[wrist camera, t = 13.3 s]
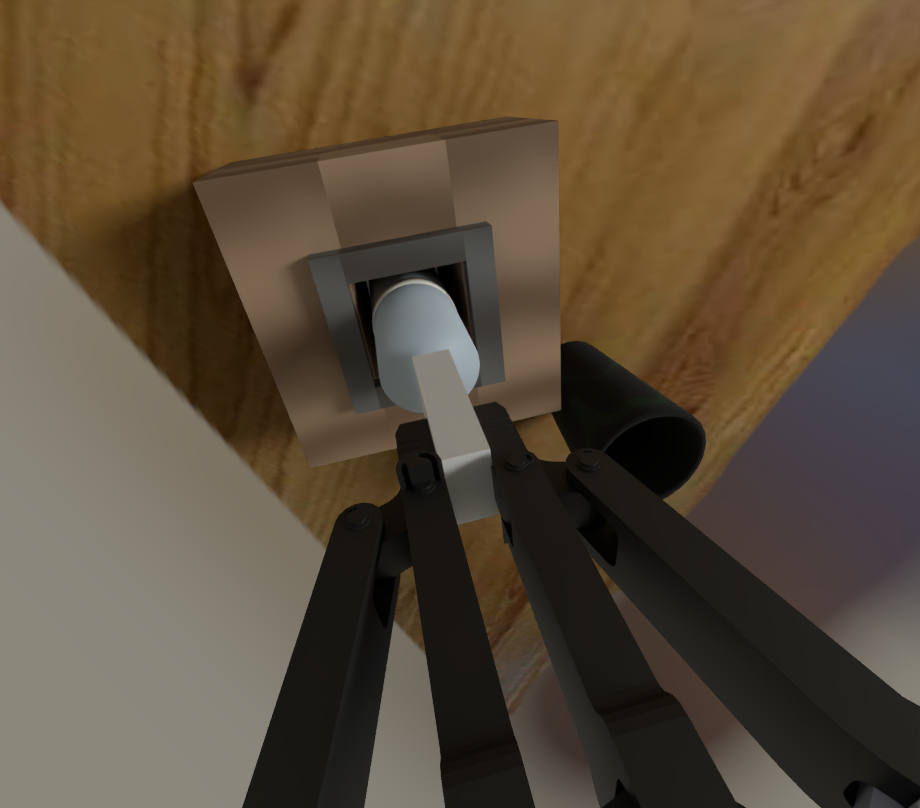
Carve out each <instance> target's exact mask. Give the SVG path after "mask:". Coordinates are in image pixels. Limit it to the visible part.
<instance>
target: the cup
mask: <svg viewBox="0 0 920 808" xmlns="http://www.w3.org/2000/svg"><path fill="white" fill-rule="evenodd" d="M560 351H561V410H559V411H555V412H551V413H552V415H553V417H554V419H555V421H556V424H557V426H558V428H559V430H560V432H561V434H562V436H563V438H564V440H565V442H566V444H567V446H568V448H569V450H570V452H571V453H572V452H573V451H575V450H579V449H582V448H592V449H596V450H600V451H602V452H604V453H605V454H607V455H608V456H609V457H611V458H612V459H613V460H614V461H616V462H617V463H618V464H619V465H620V466H622V467H623V468H624V469H625V470H627V471H628V472H629V473H630V474H631V475H633V476H634V477H635V478H636V479H638V480H639V481H640V482H641V483H642V484H644V485H645V486H646V487H647V488H648V489H650V490H651V491H652V492H653V493H655V494H656V495H657V496H658V497H659V498H661V499H662V500H663V499H665V498H667V497H668V496H670V495H671V494H673V493H674V492H675V491H677V490H678V489H679V488H680V487H682V486H683V485H684V484H685V483H686V482H687V481H688V480H689V479H690V477H691V476H692V475H693V473H694V472H695V471H696V469H697V468H698V466H699V464H700V462H701V460H702V458H703V455H704V450H705V446H706V437H705V431H704V429H703V427H702V424H701V423H700V422H699V421H698V420H697V419H696V418H695V417H694V416H692V415H691V414H690V413H688V412H687V411H685V410H684V409H682V408H681V407H680V406H678V405H677V404H675V403H674V402H672V401H671V400H669V399H668V398H667V397H665V396H664V395H662V394H661V393H659V392H658V391H657V390H655V389H654V388H652V387H651V386H649V385H648V384H646V383H645V382H644V381H642V380H641V379H639V378H638V377H636V376H635V375H633V374H632V373H631V372H629V371H628V370H626V369H625V368H623V367H622V366H621V365H619V364H618V363H616V362H615V361H613V360H612V359H610V358H609V357H608V356H606V355H605V354H603V353H602V352H600V351H599V350H598V349H596V348H595V347H593V346H592V345H590V344H588V343H586V342H580V341H573V342H568V343H564V344H561V345H560Z"/></svg>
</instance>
